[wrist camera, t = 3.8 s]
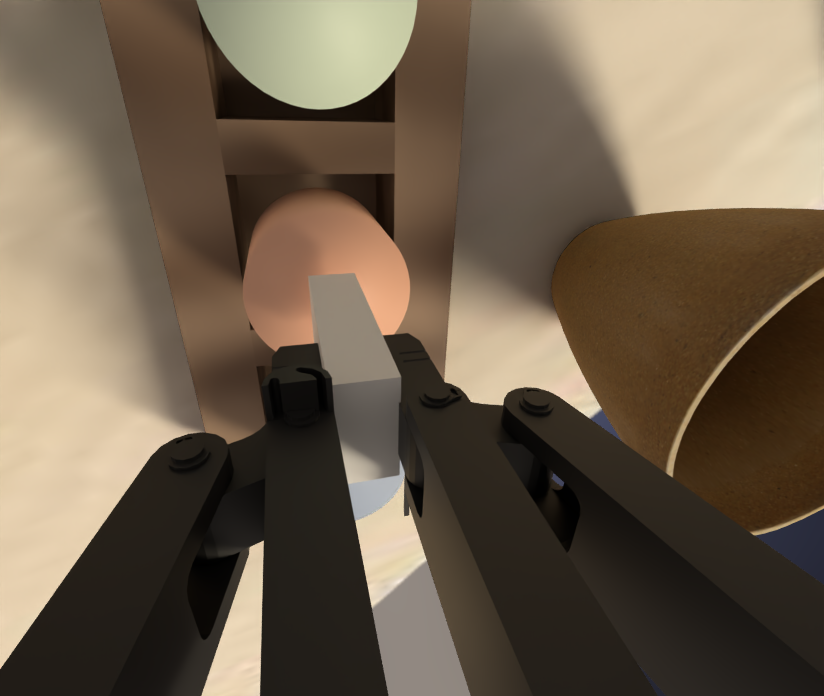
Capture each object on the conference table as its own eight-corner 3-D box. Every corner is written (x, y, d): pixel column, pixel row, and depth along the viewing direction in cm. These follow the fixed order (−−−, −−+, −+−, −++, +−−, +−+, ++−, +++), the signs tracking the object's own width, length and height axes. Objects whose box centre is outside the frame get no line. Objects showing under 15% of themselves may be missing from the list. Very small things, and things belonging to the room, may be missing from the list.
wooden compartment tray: (103, -146, 17) (43, -230, 12) (438, -99, 20) (482, -153, 15) (229, 442, 30) (221, 499, 26) (417, 416, 33) (438, 463, 29)
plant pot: (566, 120, 26) (889, 145, 12) (728, 208, 31) (1069, 291, 18) (460, 344, 31) (602, 535, 18) (615, 384, 37) (811, 550, 23)
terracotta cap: (239, 188, 18) (229, 214, 14) (384, 186, 20) (412, 209, 16) (259, 322, 21) (255, 374, 17) (384, 311, 23) (408, 358, 19)
